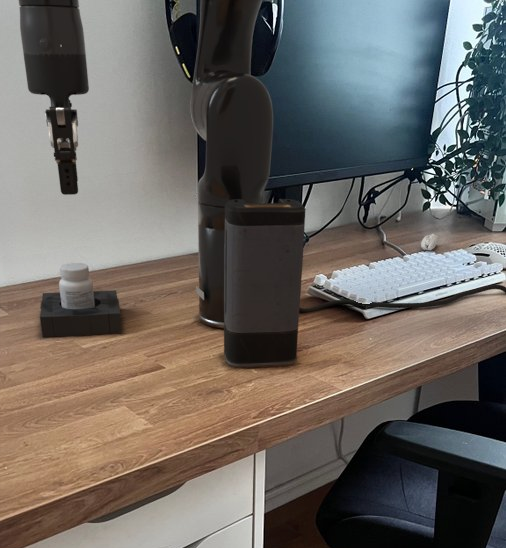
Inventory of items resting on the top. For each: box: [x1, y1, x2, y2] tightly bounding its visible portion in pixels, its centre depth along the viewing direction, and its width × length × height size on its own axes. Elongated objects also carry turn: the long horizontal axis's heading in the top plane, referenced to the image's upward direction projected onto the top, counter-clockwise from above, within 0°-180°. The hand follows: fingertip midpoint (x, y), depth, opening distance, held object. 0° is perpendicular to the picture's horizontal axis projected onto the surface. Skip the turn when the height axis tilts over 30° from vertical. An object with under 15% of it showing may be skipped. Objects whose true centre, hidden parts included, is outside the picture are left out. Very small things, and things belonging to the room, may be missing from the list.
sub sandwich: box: [420, 233, 439, 251], centre depth 147 cm, size 3×8×3 cm, turn 157°
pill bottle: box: [58, 262, 95, 310], centre depth 100 cm, size 5×5×8 cm
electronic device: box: [223, 198, 307, 369], centre depth 87 cm, size 9×6×20 cm, turn 100°
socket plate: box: [39, 289, 123, 338], centre depth 102 cm, size 11×11×3 cm
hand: (70, 188), depth 94 cm, fingers open, 8 cm apart
